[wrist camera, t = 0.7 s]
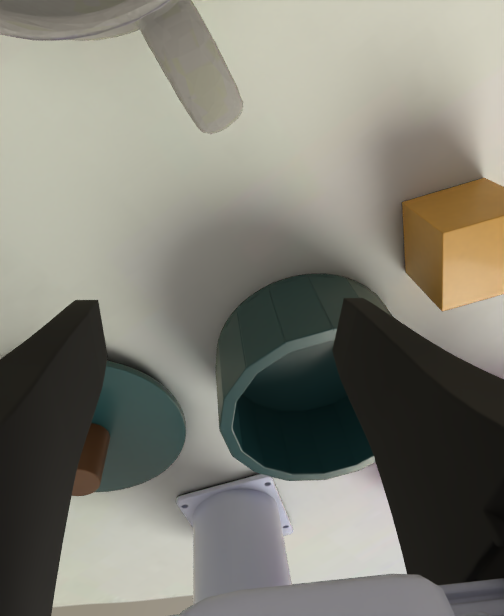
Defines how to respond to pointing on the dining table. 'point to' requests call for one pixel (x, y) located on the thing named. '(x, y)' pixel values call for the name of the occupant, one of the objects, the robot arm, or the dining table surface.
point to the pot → (290, 381)
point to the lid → (129, 433)
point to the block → (456, 243)
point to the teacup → (159, 36)
